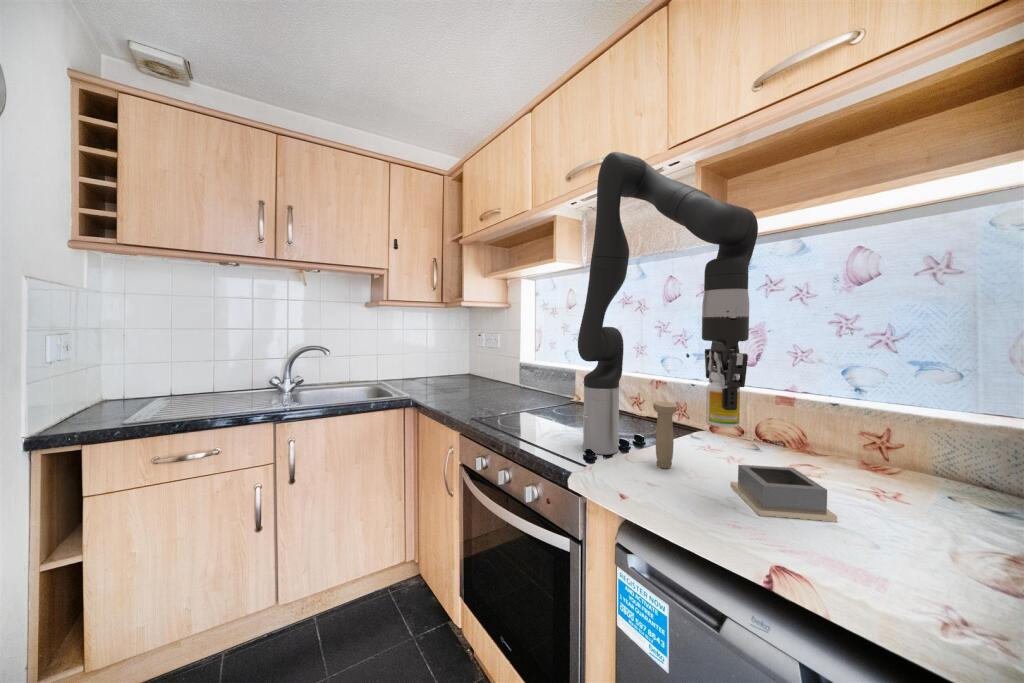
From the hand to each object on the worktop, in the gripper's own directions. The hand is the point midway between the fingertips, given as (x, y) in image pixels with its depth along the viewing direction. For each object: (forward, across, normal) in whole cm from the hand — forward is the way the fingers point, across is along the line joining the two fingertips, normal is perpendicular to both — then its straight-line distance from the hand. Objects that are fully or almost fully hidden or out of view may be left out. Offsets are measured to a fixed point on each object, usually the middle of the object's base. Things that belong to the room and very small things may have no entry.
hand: (722, 405), depth 68 cm
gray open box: (+18, -2, +11) cm, 21 cm away
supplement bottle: (+4, 0, 0) cm, 4 cm away
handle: (+19, -17, -6) cm, 26 cm away
